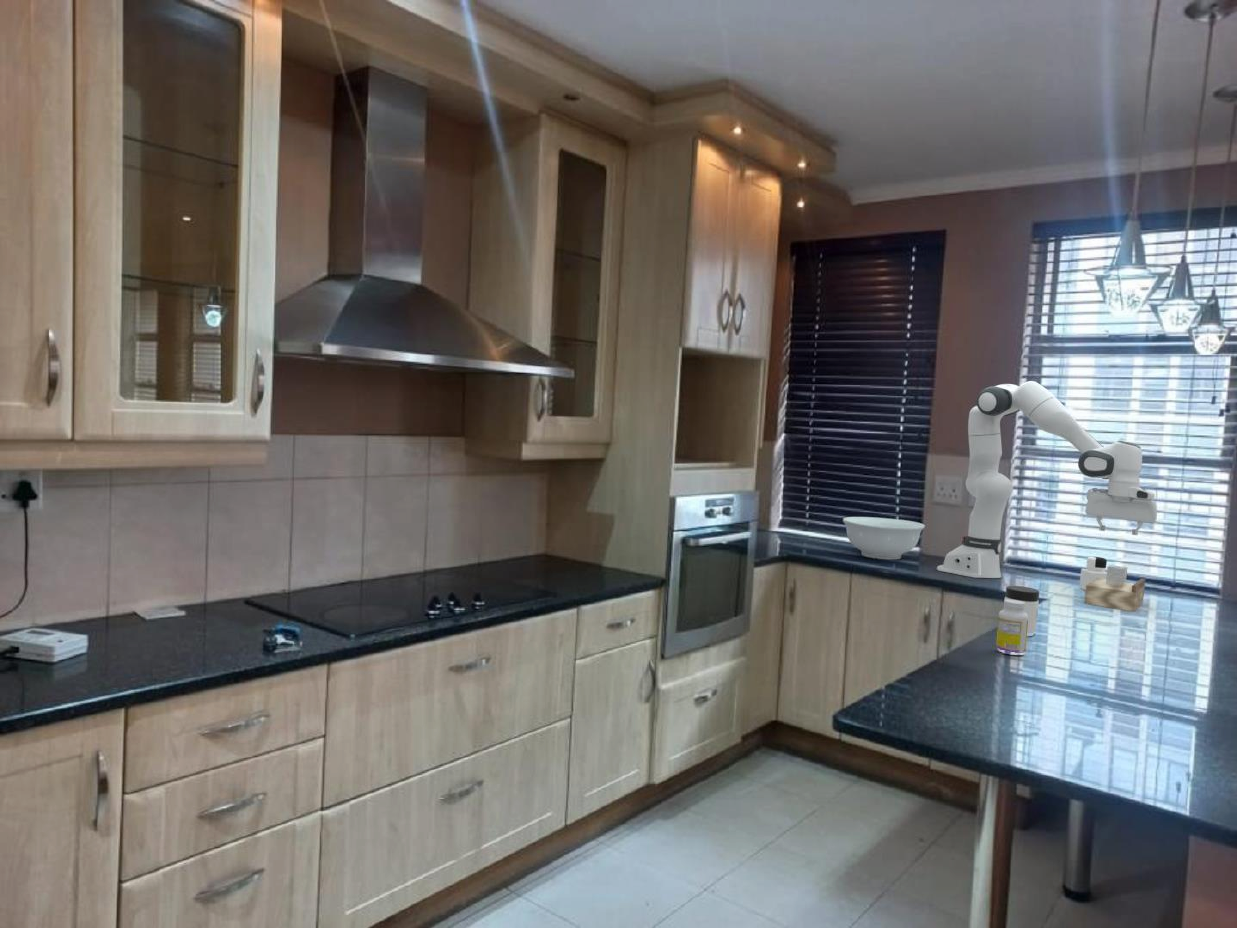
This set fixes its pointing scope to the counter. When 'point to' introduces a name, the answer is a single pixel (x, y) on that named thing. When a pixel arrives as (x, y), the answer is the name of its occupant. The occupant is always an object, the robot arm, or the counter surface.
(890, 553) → the bowl
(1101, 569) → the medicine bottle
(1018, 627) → the supplement bottle
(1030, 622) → the jar
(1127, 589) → the riser
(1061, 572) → the counter surface
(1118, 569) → the lock block
